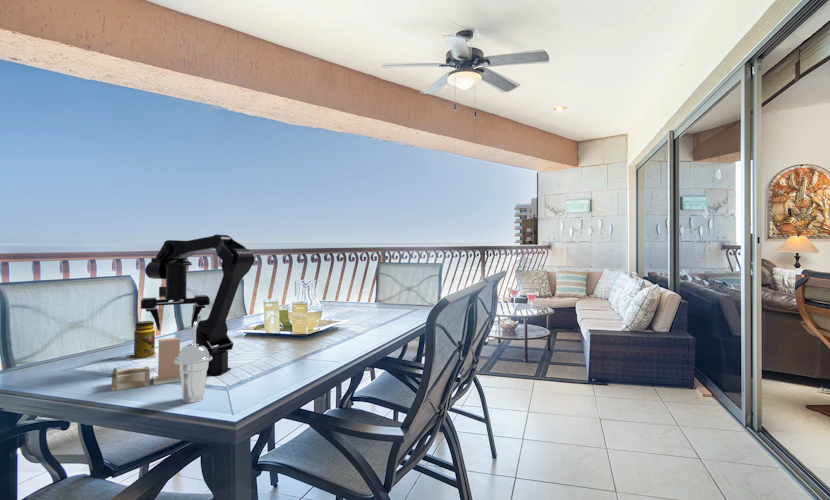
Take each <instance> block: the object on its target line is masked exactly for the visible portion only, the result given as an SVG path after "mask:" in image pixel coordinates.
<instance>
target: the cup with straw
mask: <svg viewBox="0 0 830 500" xmlns="http://www.w3.org/2000/svg"><path fill="white" fill-rule="evenodd" d="M200 320H201V316H200V315H198V316H197V318H196V320H195V322H194V324H193V328H192V343H189V344H187V345H185V346H184V347H182V348H181V350H180V353H179V355H178V357H176V358H175V361H174V363H175V364H178V370H179V373H180V380H181V381H180V388H181V394H182V396H181V397H182V398H183V400H182V402H184V403H185V404H187V403H189V404H190V403H196V402H200V401H202V400H204V395H205V389H206V382H207V376H208V375H207V370H208V366H209V361H211V360H212V359H213V358H212V355H211V354H209V352H208V350H207V348H206V347H205V346H203V345H201V344H197V343H196V329H197V325H198V323H199V321H200Z"/></svg>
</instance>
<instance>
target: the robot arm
mask: <svg viewBox="0 0 830 500" xmlns="http://www.w3.org/2000/svg"><path fill="white" fill-rule="evenodd" d="M211 250H215V251H216V256H217V257H218V258H219V259H221V265H220V266H221V270H222V273H223V275H222V279H221V281H220V283H219V287H218V290H217V293H216V296H215V298H214V301H213V303H212V306H211V310H210V311H209V314H208V315H209V316H208V318H207V319H203V320H199V321H198V322H197V325H196V343H197V344H201V345H203V346H205V347H206V348H207V350H208V352H209V354H211V355H212V358H213V359H212V360H211V361H209V366H208V370H207V375H206V376H208V375H209V376H221V375H223V374H225V373H227V372H229V371H231V370H232V368H231V367H229V351H231V350H233V347H234V342H233V341H232V339H231V338H230V336H229V335H228V330H229V328H228V325H227V318H228V316H229V313H230V311H231V310H230V309H231V308H232V305H233V301H234V299H235V296H236V293H237V290H238V288H239V285H240V283H241V280H242V278H244V277H245V276H246V275H247V274H248V273H249V272H250V270H251V268H252V267H253V264H254V262H255V256H254V254H253V252H252V251H251V250H250V249H248V248H247V247H245V246H244V245H242V244H241V243H240V242H238V241H236V240H235V239H233V238H232V237H231V236H229V235H227V234H218V233H217V234H214V235H210V236H205V237H200V238H195V239H190V240H176V239H174V240H173V239H172V240H171V239H170V240H167V239H166V240H165V241H164V242H163V245H162V247H160V249H159V252H158V253H157V254H156V257H151V261H150V262H148V264H147V265H146V267H145V269H144V272H145V274H146V277H148V278H149V279H152V280H153V279H154V280H165V286H159V287H158V297H159V298H164V299H157V297H143V298H142V299H140V309H141V310H145V311H146V312H147V313H148V312H150V314H151V316H152V317H153V319H154V322H155V323H154V324H155V326H156V328H157V330H158V331H159V332H160V331H161V325H160V318H159V317H160V316H159V309H158V306H174V305H175V306H176V305H190V304H193V305H192V313H191V320H190V321H191V322H190V324H191V325H190V327H191V329H193V324H194V322H195V320H196V318H197V317H198V316H199V314H200V313H201V312H202V309H206V306H209V305H210V304H211V299H210V296H208V295H207V294H203V295H202V294H201V295H194V296H193V297H188V298H187V275H188V274H187V269H188V268H187V267H188V266H192V265H193V263H192V262H191V261H190V260H189V259H188V258H189V257H191V256H194V254H197V253H199V252H201V253H202V252H206V251H207V252H208V251H211Z"/></svg>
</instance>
